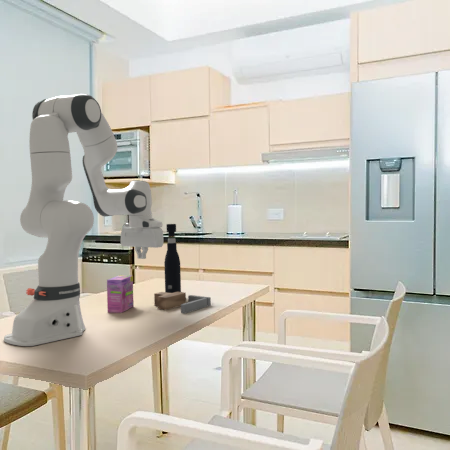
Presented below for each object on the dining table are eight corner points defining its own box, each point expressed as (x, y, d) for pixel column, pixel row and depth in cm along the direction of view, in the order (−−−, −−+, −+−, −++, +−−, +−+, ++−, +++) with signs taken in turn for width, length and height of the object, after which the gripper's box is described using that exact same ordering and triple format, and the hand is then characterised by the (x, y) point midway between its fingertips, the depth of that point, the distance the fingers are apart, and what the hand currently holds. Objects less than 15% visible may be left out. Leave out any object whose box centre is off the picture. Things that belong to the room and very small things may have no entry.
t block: (147, 307, 166) (147, 295, 166) (168, 301, 175) (167, 290, 175) (165, 310, 161) (165, 297, 161) (185, 304, 170) (185, 292, 170)
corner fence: (184, 313, 154) (184, 304, 154) (164, 310, 160) (163, 302, 160) (210, 305, 167) (210, 297, 167) (190, 302, 172) (190, 295, 172)
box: (122, 313, 158) (121, 279, 157) (107, 312, 159) (106, 279, 158) (134, 306, 168) (133, 275, 167) (119, 306, 169) (118, 275, 169)
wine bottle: (179, 295, 187) (177, 223, 186) (182, 298, 181) (180, 223, 180) (164, 296, 185) (161, 224, 184) (167, 299, 179) (164, 224, 178)
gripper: (116, 223, 177) (117, 258, 178) (153, 223, 166) (154, 260, 166) (128, 222, 183) (129, 256, 183) (165, 222, 171) (166, 258, 171)
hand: (141, 258), depth 174 cm, fingers closed
